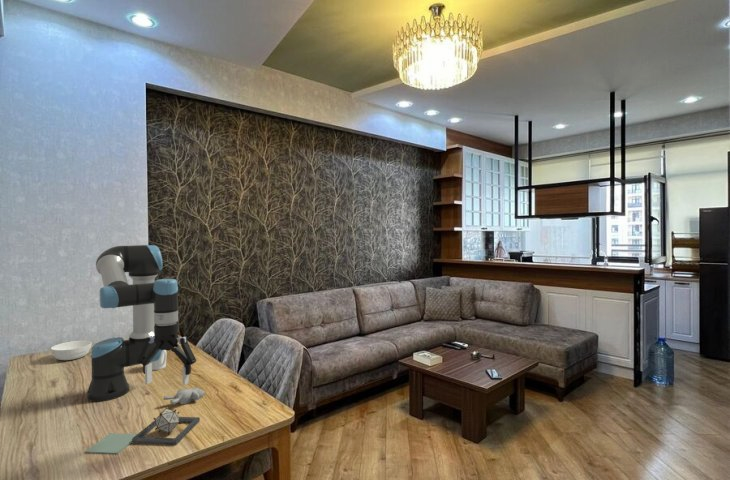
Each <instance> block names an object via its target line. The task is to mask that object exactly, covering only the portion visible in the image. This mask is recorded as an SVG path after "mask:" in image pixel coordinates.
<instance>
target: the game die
mask: <svg viewBox="0 0 730 480" xmlns="http://www.w3.org/2000/svg"><path fill="white" fill-rule="evenodd" d="M179 414H180V411H178V412H177V409H174V410H173V409H171V408H170V409H169V408H168V406H165V409H164V410H163V411H162V412H160V413H159V415H158V416H157V417H154V418H153V420H154V421H155V420H156V427H154V430H158V433H161V432H164V433H167V435H168V436H170V433H171V432H172V430H174V429H175V428H176V427H177V426H178V425H179V424H182V423H183V422H179V417H180V416H179Z"/></svg>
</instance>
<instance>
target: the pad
mask: <svg viewBox="0 0 730 480" xmlns="http://www.w3.org/2000/svg"><path fill="white" fill-rule="evenodd" d="M137 434H138V433H118V432H117V433H115V432H113V433H112V432H110V433H108V435H106V436H104V437H103V438H102V439H100V440H99V441H98V442H96V443H95V444H93V445H92V446H90V447H89V448H88V449H87V450H85V451H84V453H85V454H105V455H108V454H109V455H118V454H120V453H121V452H122V451H124V450H125V449H126V448H127V447H128V446H130V445H131V444H133V443H132V438H133V437H135V436H136V435H137Z"/></svg>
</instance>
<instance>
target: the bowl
mask: <svg viewBox="0 0 730 480" xmlns="http://www.w3.org/2000/svg"><path fill="white" fill-rule="evenodd" d="M92 347H93V342H92V341H91V340H85V339H84V340H74V341H73V340H72V341H67V342H62V343H59V344H55V345H53V346H51V347H50V352H51V354H52V355H53V357H54V358H56V359H57V360H60V361H72V360H78V359H80V358H83V357H84V356H86V355H88V353H89V352H90V350H91V349H92Z"/></svg>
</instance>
